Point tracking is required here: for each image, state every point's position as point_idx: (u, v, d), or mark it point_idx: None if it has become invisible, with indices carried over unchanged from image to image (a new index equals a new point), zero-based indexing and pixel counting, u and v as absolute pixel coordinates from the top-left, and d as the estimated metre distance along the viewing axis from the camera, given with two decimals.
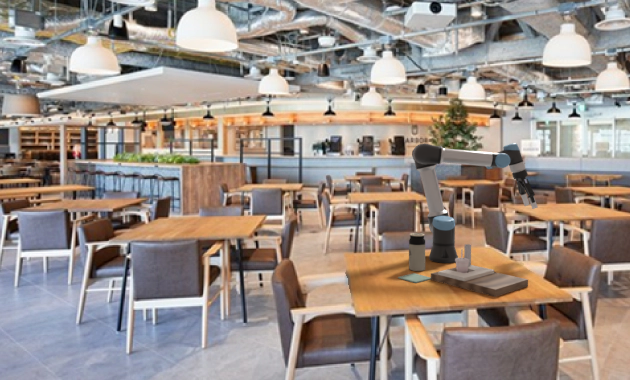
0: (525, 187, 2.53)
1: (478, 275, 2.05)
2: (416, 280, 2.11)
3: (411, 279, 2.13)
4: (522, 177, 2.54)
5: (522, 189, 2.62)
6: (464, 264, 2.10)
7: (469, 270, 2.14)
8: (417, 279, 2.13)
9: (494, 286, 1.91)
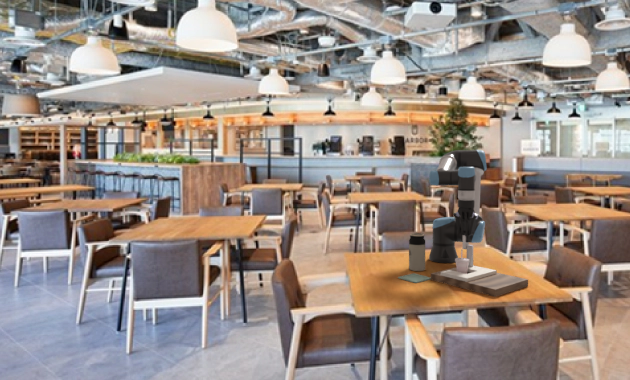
0: None
1: (480, 276, 2.04)
2: (416, 280, 2.11)
3: (411, 279, 2.13)
4: None
5: None
6: (464, 264, 2.10)
7: (471, 271, 2.13)
8: (417, 279, 2.13)
9: (494, 286, 1.91)
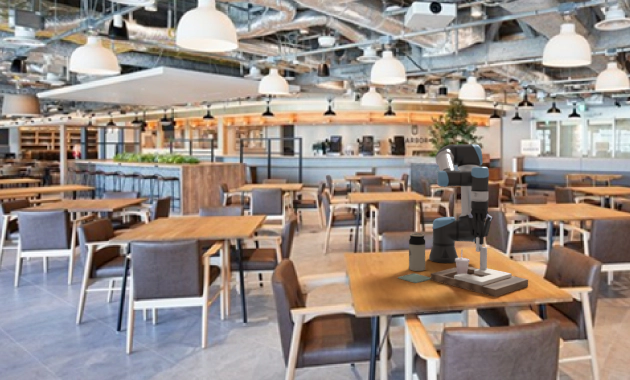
0: None
1: (495, 279, 1.98)
2: (416, 280, 2.11)
3: (411, 279, 2.13)
4: None
5: None
6: (464, 264, 2.10)
7: (485, 274, 2.08)
8: (417, 279, 2.13)
9: (494, 286, 1.91)
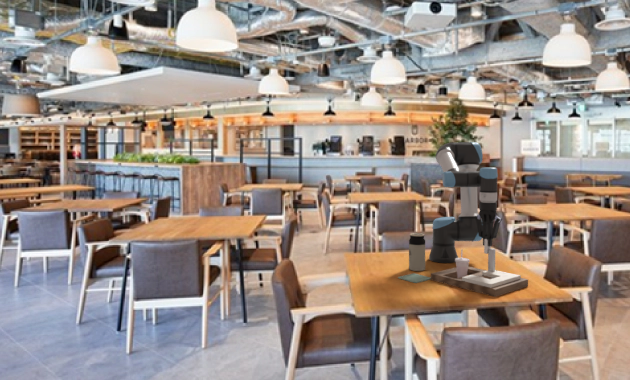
0: None
1: (504, 281, 1.95)
2: (416, 280, 2.11)
3: (411, 279, 2.13)
4: None
5: None
6: (464, 264, 2.10)
7: (494, 276, 2.04)
8: (417, 279, 2.13)
9: None
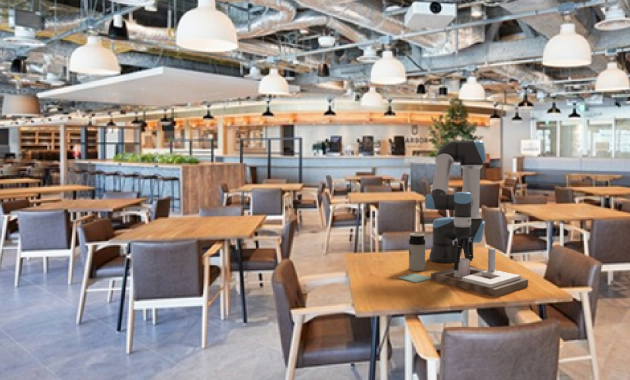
0: (456, 249, 2.11)
1: (504, 281, 1.95)
2: (416, 280, 2.11)
3: (411, 279, 2.13)
4: (455, 235, 2.09)
5: (465, 251, 2.14)
6: (464, 264, 2.10)
7: (494, 276, 2.04)
8: (417, 279, 2.13)
9: None
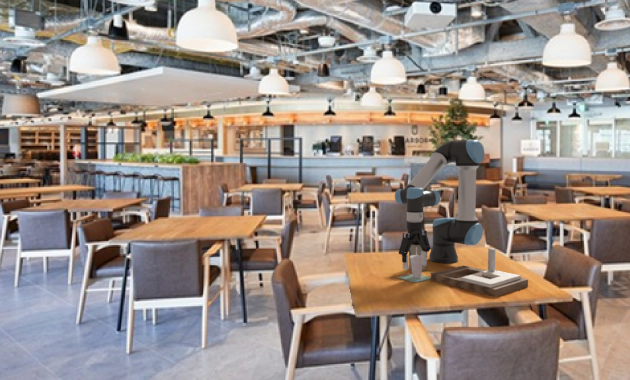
0: (407, 242, 2.13)
1: (504, 281, 1.95)
2: (416, 280, 2.11)
3: (411, 279, 2.13)
4: (408, 229, 2.13)
5: (420, 244, 2.18)
6: (418, 261, 2.14)
7: (494, 276, 2.04)
8: (417, 279, 2.13)
9: None
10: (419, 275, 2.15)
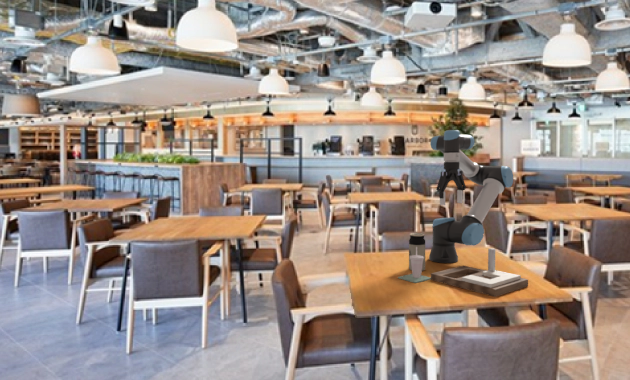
0: (444, 180, 2.30)
1: (504, 281, 1.95)
2: (416, 280, 2.11)
3: (411, 279, 2.13)
4: (446, 169, 2.29)
5: (457, 183, 2.35)
6: (418, 261, 2.14)
7: (494, 276, 2.04)
8: (417, 279, 2.13)
9: None
10: (419, 275, 2.15)
